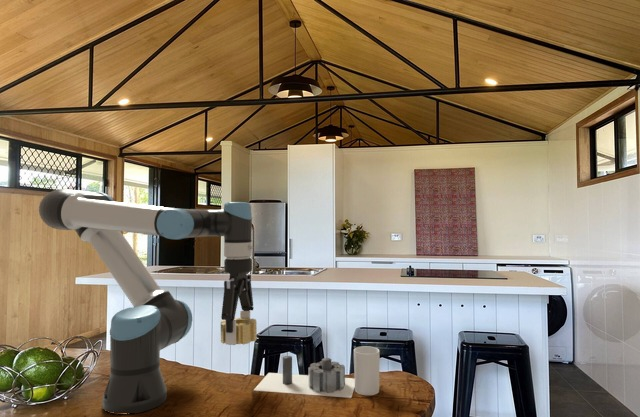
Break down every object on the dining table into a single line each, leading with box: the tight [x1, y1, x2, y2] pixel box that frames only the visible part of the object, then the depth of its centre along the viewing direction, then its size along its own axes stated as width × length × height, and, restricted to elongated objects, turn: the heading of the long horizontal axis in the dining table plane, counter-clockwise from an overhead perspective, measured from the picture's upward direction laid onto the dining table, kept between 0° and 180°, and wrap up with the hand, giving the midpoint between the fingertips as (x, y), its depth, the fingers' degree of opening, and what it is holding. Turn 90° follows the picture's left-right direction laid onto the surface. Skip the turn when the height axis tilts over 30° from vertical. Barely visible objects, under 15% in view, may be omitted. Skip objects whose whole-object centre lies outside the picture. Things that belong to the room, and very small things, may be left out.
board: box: [253, 355, 355, 399], centre depth 117 cm, size 26×13×8 cm, turn 79°
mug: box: [353, 345, 381, 396], centre depth 115 cm, size 10×7×12 cm, turn 166°
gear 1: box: [220, 317, 258, 345], centre depth 119 cm, size 10×10×5 cm
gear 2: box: [307, 360, 346, 393], centre depth 116 cm, size 10×10×5 cm
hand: (238, 338), depth 119 cm, fingers closed on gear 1, 10 cm apart
